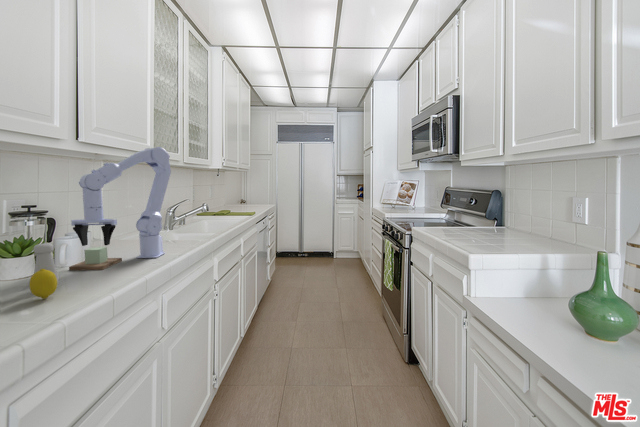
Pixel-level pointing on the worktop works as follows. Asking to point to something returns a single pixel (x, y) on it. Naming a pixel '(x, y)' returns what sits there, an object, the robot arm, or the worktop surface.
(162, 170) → the robot arm
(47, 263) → the salt shaker
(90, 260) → the green cube
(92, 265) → the cutting board
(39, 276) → the lemon
